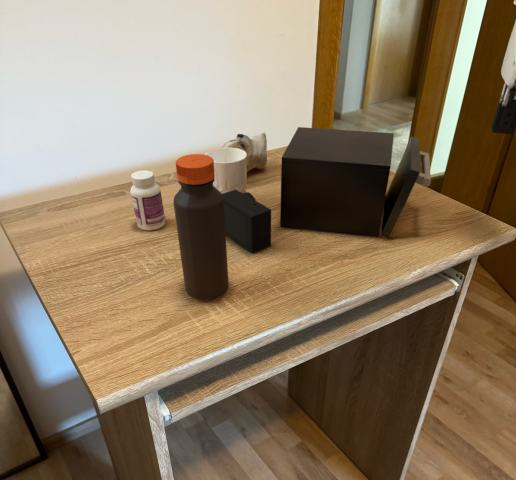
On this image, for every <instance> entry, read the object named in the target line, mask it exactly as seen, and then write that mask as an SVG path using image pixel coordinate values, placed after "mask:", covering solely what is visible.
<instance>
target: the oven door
mask: <svg viewBox="0 0 516 480" xmlns="http://www.w3.org/2000/svg"><path fill="white" fill-rule="evenodd" d="M420 147H421V146H420V138H418V137H415V136H410V138H409V140H408V143H407V145H406V147H405V149H404V152H403V155H402V156H401V159H400V161H399V164H398V165H397V169H396V171H395V174H394V176H393V178H392V180H391V182H390V184H389V187H388V188H387V191H386V197H385V203H384V209H383V214H382V220H381V226H380V237H381V238H384V239H388V240H389V239H390V237H391V235H392V233H393V231H394V229H395V227H396V224H397V222H398V220H399V218H400V216H401V215H402V212H403V210H404V208H405V206H406V204H407V202H408V199H409V196H410V195H411V193H412V191H413V189H414V186H415V185H416V184H417V185H421V186H423V187H429V186H431V183H432V179H431V177H432V176H431V162H430V161H431V160H430V153H429V152H424V151H422V150H420V149H421V148H420Z"/></svg>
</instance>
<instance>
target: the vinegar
mask: <svg viewBox="0 0 516 480" xmlns="http://www.w3.org/2000/svg"><path fill="white" fill-rule="evenodd" d="M175 170H176V178H177V181H178V184H179V185H180V188H179V190H178V191H177V193H175V195H174V197H173V210H174V217H175V224H176V232H177V239H178V247H179V254H180V260H181V261H180V262H181V267H182V275H183V282H184V291H185V292H186V294H187V296H189V297H190V298H192V299H194V300H197V301H202V302H207V301H208V302H209V301H214V300H218V299H220V298H222V297H223V296H224V295H226V294H227V293H228V290H229V288H230V284H229V267H228V265H229V264H228V252H227V236H226V234H225V218H224V202H223V195H222V194H221V192H220V191H219V190H218V189H216V188H215V187H214V186H213V182H214V181H215V173H214V160H213V159H212V158H211V157H210V156H208V155H205V154H203V153H192V154H186V155H182V156H180V157H178V158H177V159H176V160H175Z"/></svg>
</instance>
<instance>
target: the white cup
mask: <svg viewBox="0 0 516 480" xmlns="http://www.w3.org/2000/svg"><path fill="white" fill-rule="evenodd" d="M204 155H208V156H210V157H211V158H212V159H213V160H214V173H215V181H214V182H213V186H214V187H215V188H216V189H218V190H219V191H220V192H221V194H223V193H226V192H230V191H233V190H238V191H239V192H241V193H246V192H247V180H248V179H247V178H248V177H247V174H248V171H247V153H246V152H245V151H243V150H241V149H238V148H229V147H226V148H222V147H218V148H217V147H216V148H213V149H210V150H208V151H207V152H206V153H205V154H204Z"/></svg>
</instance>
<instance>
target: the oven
mask: <svg viewBox="0 0 516 480" xmlns="http://www.w3.org/2000/svg"><path fill="white" fill-rule="evenodd" d="M394 136H395V133H394V132H381V131H379V132H378V131H364V130H349V129H348V130H347V129H335V128H321V127H320V128H318V127H306V126H305V127H302V126H297V129H296V131H295V133H294V134H293V135H292V138H291V140H290V141H289V143H288V145H287V146H286V149H285V150H284V152H283V154H282V156H281V163H280V164H281V168H280V173H281V174H280V213H279V214H280V216H279V218H280V220H279V228H282V229H291V230H292V229H293V230H301V231H310V232H320V233H331V234H341V235H349V236H350V235H351V236H358V237H359V236H360V237H370V238H379V237H380V233H381V227H382V218H383V209H384V203H385V197H386V194H387V191H388V186H389V185H388V184H389V179H390V173H391V166H392V157H393V149H394V148H393V147H394Z"/></svg>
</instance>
